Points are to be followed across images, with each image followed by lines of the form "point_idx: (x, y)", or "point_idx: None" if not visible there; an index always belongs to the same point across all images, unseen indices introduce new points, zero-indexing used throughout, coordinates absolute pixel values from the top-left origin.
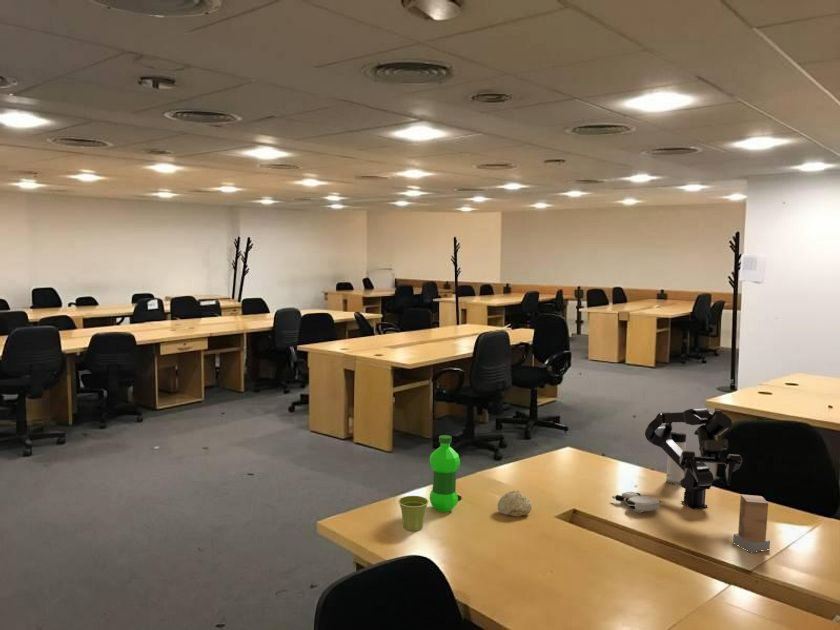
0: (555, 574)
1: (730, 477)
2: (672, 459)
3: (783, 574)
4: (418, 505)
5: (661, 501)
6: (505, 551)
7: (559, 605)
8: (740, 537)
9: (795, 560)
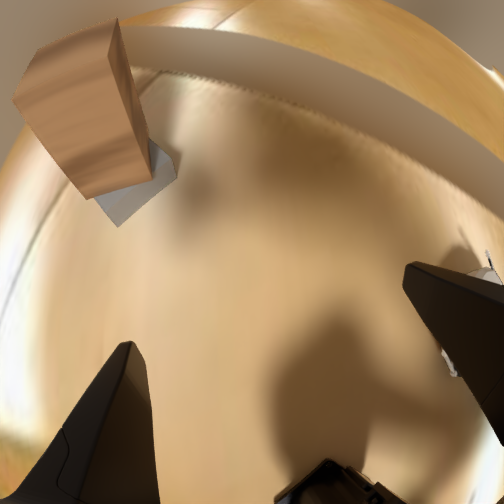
0: (407, 35)
1: (88, 394)
2: None
3: None
4: None
5: (449, 360)
6: (469, 73)
7: (368, 5)
8: (153, 142)
9: (48, 158)
